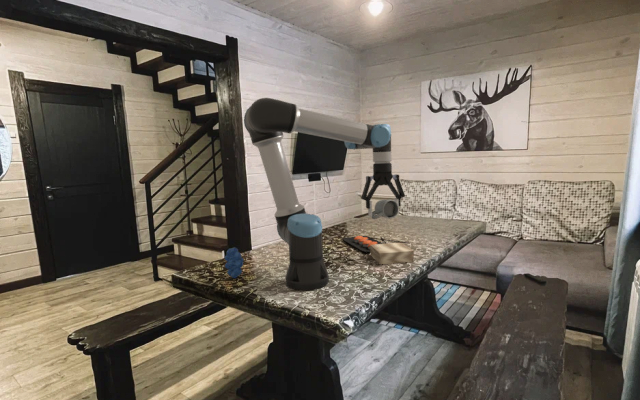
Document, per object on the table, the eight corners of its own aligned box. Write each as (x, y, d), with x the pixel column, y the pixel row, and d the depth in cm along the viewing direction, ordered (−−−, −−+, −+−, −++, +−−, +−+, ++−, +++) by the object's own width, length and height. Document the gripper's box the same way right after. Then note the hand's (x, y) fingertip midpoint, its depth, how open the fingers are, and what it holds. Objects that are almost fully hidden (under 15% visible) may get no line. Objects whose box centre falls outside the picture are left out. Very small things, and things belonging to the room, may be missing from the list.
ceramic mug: (387, 214, 145) (387, 197, 144) (399, 217, 138) (398, 199, 137) (367, 218, 141) (366, 200, 140) (377, 220, 134) (376, 202, 133)
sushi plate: (341, 241, 174) (340, 234, 174) (391, 235, 183) (391, 228, 182) (364, 256, 146) (364, 247, 146) (423, 248, 155) (423, 240, 155)
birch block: (380, 265, 132) (379, 253, 132) (370, 255, 146) (370, 244, 145) (413, 262, 134) (413, 250, 133) (401, 253, 148) (400, 242, 147)
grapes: (253, 279, 122) (250, 247, 120) (236, 284, 117) (233, 251, 116) (238, 271, 130) (235, 242, 129) (221, 276, 126) (219, 245, 125)
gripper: (404, 161, 142) (405, 211, 145) (352, 164, 138) (354, 216, 141) (412, 161, 135) (413, 214, 138) (357, 164, 131) (359, 218, 133)
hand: (383, 215), depth 139 cm, fingers closed on ceramic mug, 11 cm apart
